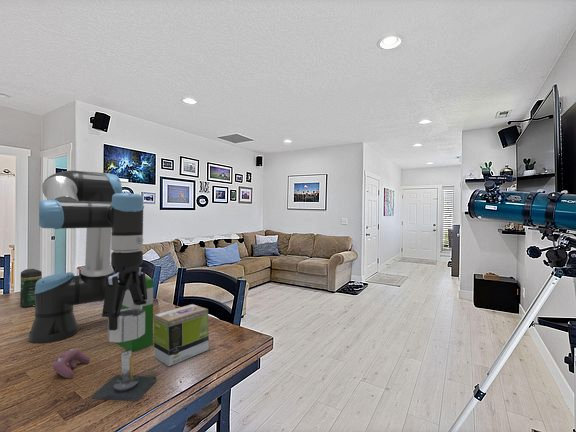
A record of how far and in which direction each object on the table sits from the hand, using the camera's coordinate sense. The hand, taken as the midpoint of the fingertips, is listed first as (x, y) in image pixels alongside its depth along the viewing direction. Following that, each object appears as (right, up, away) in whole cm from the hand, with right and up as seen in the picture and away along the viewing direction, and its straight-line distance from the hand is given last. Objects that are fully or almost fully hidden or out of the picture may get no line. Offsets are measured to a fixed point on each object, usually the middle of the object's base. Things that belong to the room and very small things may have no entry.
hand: (126, 334), depth 79 cm
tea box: (+7, -15, +20) cm, 27 cm away
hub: (0, 0, 0) cm, 0 cm away
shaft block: (0, -15, 0) cm, 15 cm away
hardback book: (-15, -15, +29) cm, 36 cm away
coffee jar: (-89, -14, +71) cm, 115 cm away
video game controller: (-22, -15, +9) cm, 28 cm away
